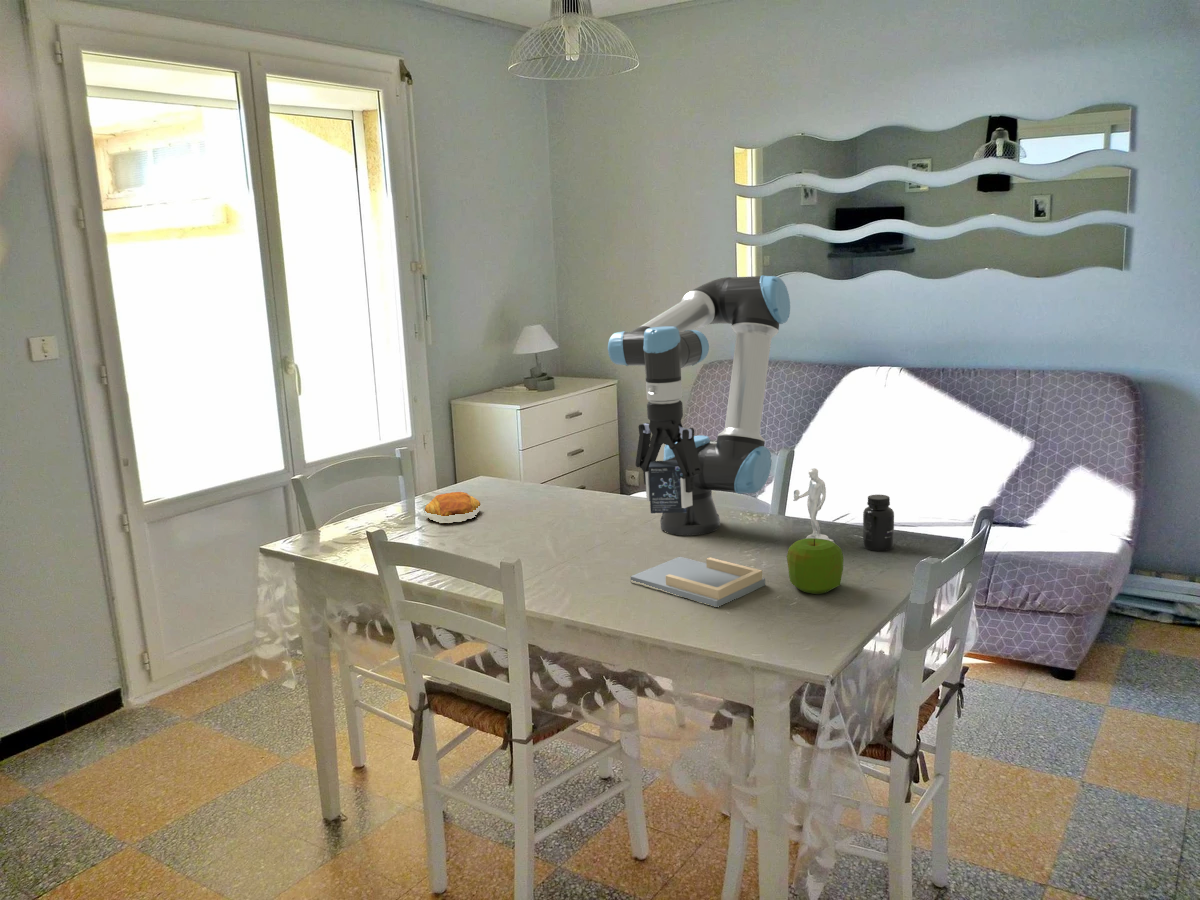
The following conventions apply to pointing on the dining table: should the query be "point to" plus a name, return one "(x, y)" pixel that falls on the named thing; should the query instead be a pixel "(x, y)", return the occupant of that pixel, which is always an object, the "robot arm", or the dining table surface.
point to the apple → (815, 565)
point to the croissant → (452, 504)
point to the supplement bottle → (878, 524)
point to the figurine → (814, 502)
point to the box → (665, 487)
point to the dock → (703, 579)
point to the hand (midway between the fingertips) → (669, 503)
